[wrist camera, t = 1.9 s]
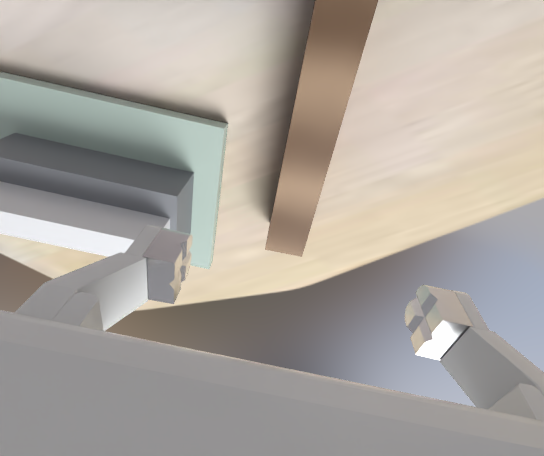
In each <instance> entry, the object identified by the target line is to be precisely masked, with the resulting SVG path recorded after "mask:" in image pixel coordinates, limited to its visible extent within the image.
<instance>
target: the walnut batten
mask: <svg viewBox="0 0 544 456" xmlns="http://www.w3.org/2000/svg"><path fill="white" fill-rule="evenodd" d="M377 3H378V0H315V4H314V8H313V13H312V18H311V23H310V28H309V33H308V38H307V43H306V48H305V53H304V58H303V63H302V68H301V73H300V78H299V83H298V88H297V92H296V97H295V102H294V107H293V112H292V117H291V122H290V127H289V132H288V137H287V142H286V147H285V152H284V157H283V162H282V167H281V172H280V176H279V181H278V186H277V191H276V196H275V201H274V206H273V211H272V216H271V221H270V226H269V231H268V237H267V242H266V248H265V250H270V251H276V252H281V253H286V254H291V255H296V256H301V257H302V254H303V251H304V248H305V244H306V241H307V238H308V234H309V231H310V228H311V224H312V221H313V217H314V214H315V211H316V207H317V204H318V201H319V197H320V194H321V191H322V187H323V184H324V181H325V177H326V174H327V170H328V167H329V164H330V160H331V157H332V154H333V150H334V147H335V144H336V140H337V137H338V134H339V130H340V127H341V123H342V120H343V117H344V113H345V110H346V107H347V103H348V100H349V97H350V93H351V90H352V87H353V83H354V80H355V76H356V73H357V70H358V66H359V63H360V60H361V56H362V53H363V50H364V46H365V43H366V40H367V36H368V33H369V29H370V26H371V23H372V19H373V16H374V13H375V9H376V6H377Z"/></svg>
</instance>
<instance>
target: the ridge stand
mask: <svg viewBox="0 0 544 456" xmlns="http://www.w3.org/2000/svg"><path fill="white" fill-rule="evenodd" d="M227 128H228V123H223V122H219V121H214V120H210V119H206V118H201V117H197V116H193V115H188V114H184V113H180V112H175V111H171V110H167V109H162V108H158V107H153V106H149V105H145V104H140V103H136V102H132V101H127V100H123V99H119V98H114V97H110V96H105V95H101V94H97V93H92V92H88V91H84V90H79V89H75V88H71V87H66V86H62V85H57V84H53V83H49V82H44V81H40V80H36V79H31V78H27V77H23V76H18V75H14V74H9V73H5V72H1V71H0V234H5V235H9V236H14V237H19V238H23V239H28V240H33V241H37V242H42V243H47V244H51V245H56V246H61V247H66V248H70V249H75V250H80V251H84V252H89V253H94V254H98V255H103V256H108V257H110V256H112V255H115V254H117V253H120V252H121V253H125V252H126V251H127V249H128V248H129V247H130V245H131V244H132V243H133V242H134V240H135V239H136V238H137V236H138V235H139V234H140V233H141V231H142V230H143V229H144V227H145V226H147V225H153V226H157V227H162V228H167V229H171V230H175V231H179V232H183V233H188V234H192V236H193V238H192V246H191V248H190V250H189V251H190V252H191V254H192V256H191V263H190V265H192V266H197V267H202V268H206V269H210V266H211V264H212V261H213V252H214V243H215V234H216V225H217V216H218V207H219V199H220V190H221V181H222V172H223V163H224V154H225V145H226V136H227Z"/></svg>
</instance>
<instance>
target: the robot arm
mask: <svg viewBox="0 0 544 456" xmlns="http://www.w3.org/2000/svg"><path fill="white" fill-rule="evenodd" d="M192 238H193V236H192V234H188V233H183V232H179V231H175V230H171V229H167V228H162V227H157V226H153V225H147V226H145V227H144V229H143V230H142V231H141V233H140V234H139V235H138V236H137V238H136V239H135V240H134V242H133V243H132V244H131V245H130V247H129V248H128V249H127V251H126V252H125V253H121V252H120V253H117V254H115V255H112V256H110V257H107V258H105V259H102V260H100V261H97V262H95V263H92V264H90V265H87V266H85V267H82V268H80V269H77V270H75V271H72V272H70V273H67V274H65V275H62V276H60V277H57V278H55V279H52V280H50V281H48V282H46V283H44V284H43V285H42V286H41V287H40V288H39V289H38V290H37V291H36V292H35V293H34V294H33V295H32V296H31V297H30V298H29V299H28V300H27V301H26V302H25V303H24V304H23V305H22V306H21V307H20V308H19V309H18V310H17V311H16V312H15V313H12V312H7V311H2V310H0V456H544V372H542V371H541V370H540V369H539V368H538V367H536V366H535V365H534V364H533V363H532V362H530V361H529V360H528V359H527V358H525V357H524V356H523V355H522V354H521V353H519V352H518V351H517V350H516V349H514V348H513V347H512V346H511V345H510V344H508V343H507V342H506V341H505V340H504V339H502V338H501V337H500V336H499V335H497V334H496V333H495V332H493V331H490V330H489V329H488V327H487V325H486V323H485V322H484V320H483V318H482V317H481V315H480V313H479V311H478V310H477V308H476V306H475V305H474V303H473V301H472V299H471V298H470V296H469V295H468V294H466V293H463V292H458V291H453V290H451V291H450V290H446V289H441V288H436V287H432V286H427V285H422V286H421V287H419V288H418V290H417V291H416V295H417V298H415V299H413V300H411V301H410V302H409V304H408V305H407V307H406V311H405V322H406V325H407V327H408V328H409V330H410V331H411V332H412V333H413V334H412V336H411V341H412V344H413V347H414V350H415V353H416V355H420V356H425V357H429V358H433V359H437V360H440V362H441V363H442V365H443V366H444V367H445V369H446V370H447V371H448V372H449V374H450V375H451V376H452V377H453V379H454V380H455V381H456V382H457V384H458V385H459V386H460V387H461V389H462V390H463V391H464V392H465V393H466V395H467V396H468V397H469V398H470V400H471V401H472V402H473V403H474V405H475V406H476V407H473V406H467V405H463V404H458V403H453V402H448V401H443V400H439V399H434V398H429V397H424V396H419V395H414V394H409V393H404V392H399V391H395V390H389V389H385V388H380V387H375V386H370V385H365V384H360V383H355V382H351V381H345V380H341V379H336V378H331V377H326V376H321V375H316V374H311V373H306V372H301V371H297V370H291V369H287V368H282V367H277V366H272V365H267V364H262V363H257V362H253V361H248V360H243V359H238V358H233V357H228V356H223V355H218V354H213V353H208V352H203V351H199V350H194V349H189V348H184V347H179V346H174V345H169V344H164V343H159V342H154V341H150V340H144V339H140V338H135V337H130V336H125V335H120V334H115V333H110V332H105V330H106V329H108V328H109V327H111V326H112V325H114V324H115V323H117V322H118V321H119V320H121V319H122V318H124V317H125V316H127V315H128V314H130V313H131V312H132V311H134V310H135V309H137V308H138V307H140V306H141V305H143V304H144V303H145V302H147V301H148V299H149V300H154V301H160V302H165V303H171V304H174V302H175V300H176V298H177V296H178V294H179V292H180V290H181V282H182V281H184V280H185V279H186V276H187V274H188V271H189V268H190V263H191V256H192V254H191V252H190V251H189V250H190V248H191V246H192Z"/></svg>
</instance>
